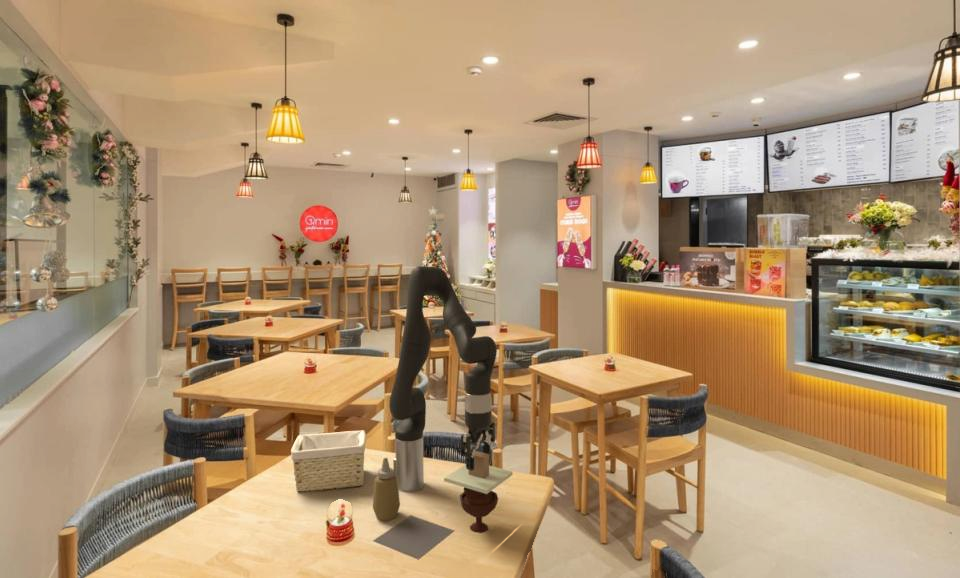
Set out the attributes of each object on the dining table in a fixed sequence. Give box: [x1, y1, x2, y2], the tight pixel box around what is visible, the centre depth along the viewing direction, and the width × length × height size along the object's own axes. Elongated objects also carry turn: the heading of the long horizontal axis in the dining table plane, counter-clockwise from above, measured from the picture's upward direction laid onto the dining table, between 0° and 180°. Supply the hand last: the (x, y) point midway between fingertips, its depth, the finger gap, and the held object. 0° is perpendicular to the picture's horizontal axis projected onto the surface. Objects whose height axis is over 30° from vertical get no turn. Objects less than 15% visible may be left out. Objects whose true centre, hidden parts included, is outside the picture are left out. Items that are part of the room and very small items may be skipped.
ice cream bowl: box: [459, 487, 499, 534], centre depth 147 cm, size 11×11×15 cm
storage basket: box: [290, 429, 367, 492], centre depth 179 cm, size 24×16×15 cm
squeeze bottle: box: [372, 457, 401, 522], centre depth 154 cm, size 8×8×18 cm
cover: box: [443, 450, 513, 494], centre depth 147 cm, size 14×14×7 cm
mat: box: [372, 514, 455, 561], centre depth 144 cm, size 16×16×1 cm
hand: (478, 464), depth 147 cm, fingers open, 8 cm apart
